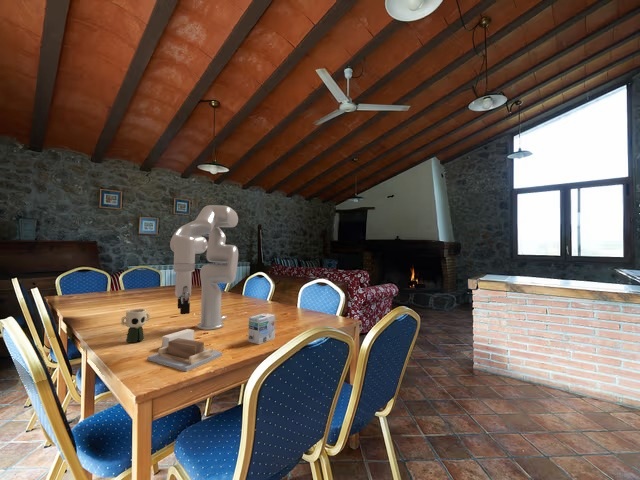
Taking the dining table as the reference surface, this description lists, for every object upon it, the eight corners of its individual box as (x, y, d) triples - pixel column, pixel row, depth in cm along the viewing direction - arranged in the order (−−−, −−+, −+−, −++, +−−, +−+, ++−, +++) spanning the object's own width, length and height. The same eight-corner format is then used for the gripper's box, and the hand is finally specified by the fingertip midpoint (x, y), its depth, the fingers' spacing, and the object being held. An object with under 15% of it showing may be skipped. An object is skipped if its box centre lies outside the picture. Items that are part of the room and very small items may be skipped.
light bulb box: (258, 345, 124) (259, 319, 124) (247, 341, 127) (248, 317, 128) (275, 338, 133) (276, 314, 133) (264, 335, 136) (265, 312, 137)
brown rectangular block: (177, 351, 111) (178, 338, 111) (203, 355, 107) (203, 342, 107) (168, 355, 107) (168, 341, 107) (194, 360, 103) (194, 346, 103)
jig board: (185, 346, 120) (185, 343, 120) (222, 355, 111) (222, 352, 111) (147, 359, 105) (147, 356, 105) (186, 371, 97) (186, 367, 97)
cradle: (180, 347, 115) (180, 341, 115) (212, 355, 108) (212, 349, 108) (158, 355, 106) (158, 348, 106) (191, 365, 99) (191, 357, 99)
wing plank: (187, 340, 128) (187, 328, 128) (193, 341, 126) (194, 330, 126) (161, 348, 117) (162, 336, 117) (168, 350, 115) (169, 337, 115)
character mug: (124, 346, 118) (125, 314, 118) (117, 342, 122) (118, 311, 122) (152, 339, 127) (153, 309, 127) (144, 336, 131) (145, 307, 131)
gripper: (171, 265, 120) (170, 307, 121) (175, 270, 106) (174, 317, 106) (191, 265, 124) (190, 305, 125) (198, 269, 110) (197, 315, 110)
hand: (183, 310), depth 115 cm, fingers open, 9 cm apart
